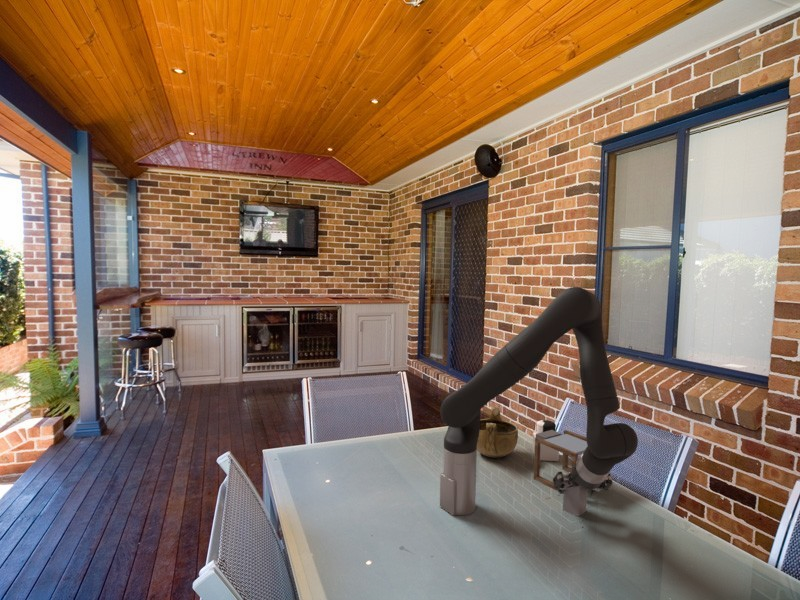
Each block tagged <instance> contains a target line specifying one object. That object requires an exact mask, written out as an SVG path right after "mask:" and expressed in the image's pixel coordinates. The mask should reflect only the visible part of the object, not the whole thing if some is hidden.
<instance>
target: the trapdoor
mask: <svg viewBox="0 0 800 600" xmlns="http://www.w3.org/2000/svg"><path fill="white" fill-rule="evenodd" d="M536 438H540V439H543V440H545V441H548V442H550V443H553V444H555V445H558V446H560V447H563V448H565V449H568V450H570V451H573V452H575V453H578V456H580V455H581V454H582V453H583V452H584V451H585V449H586V448H587V446H588V445H587V441H584V440H581V439H579V438H576V437H573V436H571V435H568V434H564V433H561V432H559V431H554V430H549V431H546V432H542V433H538V434H536Z"/></svg>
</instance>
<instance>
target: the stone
mask: <svg viewBox="0 0 800 600" xmlns="http://www.w3.org/2000/svg"><path fill="white" fill-rule="evenodd" d="M570 473H571V472H570ZM568 474H569V472H567V473H566V474H565V475H568ZM564 485H566V481H565V483H564ZM571 485H573V484H572V483H571ZM587 496H588V489H586V488H583V487H580V488H579V487H577V488H574V489H568V488H567V489H565V491H564V494H563V499H562V500H563V502H562V503H563V505H562V511H564V512H566V513H568V514H571V515H573V516H575V517H580V516H582V515H583V514H584V513H585V512H587V500H588V499H587Z"/></svg>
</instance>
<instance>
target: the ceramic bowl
mask: <svg viewBox="0 0 800 600" xmlns="http://www.w3.org/2000/svg"><path fill="white" fill-rule="evenodd" d="M518 429H519V428H518V426H517V425H516V424H515V423H513V422H510V421H508V420H505V419H504V420H503V419H502V417H501V407H500V406H491V409H490V416H489V418H482V419H481V418H480V430H479V438H478V441H477V452H479V453H480V454H481V455H483V456H485V457H489V458H495V459H496V458H503V457H505V456H507V455H509V454H510V453H512V452H513V451H514V450H515V449H516V446H517V443H518V438H519V430H518Z"/></svg>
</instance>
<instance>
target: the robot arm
mask: <svg viewBox="0 0 800 600" xmlns="http://www.w3.org/2000/svg"><path fill="white" fill-rule="evenodd" d="M602 318H603V317H602V308H601V301H600V300H599V298H598V297H597V296H596V295H595V294H594V293H593V292H592V291H590V290H587V289H585V288H584V287H580V286H573V287H572V286H571V287H568V288H566V289H564V290H563V291H561V292H559V294H558V295H556V297H555V298H554V299H553V300H552V301H551V302H550V303H549V304H548V306H547V307H546V308H545V309H544V310H543V311H542V312H541V314H539V316H538V317H537V318H536V319H534V320H533V321H532V322H531V323H529V325H527V326H526V327H525V328H524V329H523V330H522V331H520V332H518V334H517V335H516V336H514V337H513V338H512V339H511V340H509V341H508V342H507V343H506V344H505V345H504V346H503V347H501V348H500V349H499V350H498V351H497V352H496V353H495V354H494V355H493V356H492V357H491V358H490V359H488V361H487V362H486V363H485V364H484V365H483V366H482V367H481V369H480V370H479V371H478V372H477V373H476V374H475V375H474V376H473V377H472V378H471V379H470V380H469V381H468V382H467V383H465V384H463V386H461V387H460V388H458V389H457V390H455V391H454V392H452V393H450V394H449V395H448V396H446V397H445V398H444V399H443V401H442V402H441V404H440V408H439V409H440V411H439V412H440V413H439V414H440V417H441V420H442V422H443V423H444V424H445V425H447V426H448V427H447V431H446V433H445V435H444V437H443V461H442V462H443V463H442V464H443V465H442V466H443V467H442V468H443V469H442V473H440V476H439V477H440V478H439V507H440V506H441V507H440V508H442V509H443V510H444V509H445V510H444V511H446V512H447V513H448V512H449V514H450V515H451V516H453V515H454V516H466V515H470V514H472V513H474V512H475V510H476V496H477V495H476V493H477V491H476V490H477V484H476V483H477V453H478V451H477V441H478V438H479V430H480V419H481V410H482V408H484V407H485V406H486V405H487V404H488V403H490V402H491V400H493V399H495V398H496V397H498V396H499V395H501V394H503V393H504V392H506V391H508V390H509V389H510V388H511V387H513V386H515V385H516V384H517V383H519V382H520V381H521V380H523V379H524V378H525V377H527V376H528V374H530V373H531V372H532V371H534V369H536V367H537V366H538V365H539V364H540V363H541V361H543V358H544V357H545V355H547V353H548V351H549V349H550V348H551V347H552V346H553V345H554V344H555V343H556V342H557V341H558V340H559V339H560V338H561V337H563V336H564V335H566V334H567V333H568V332H569V331H571V330H572V332H573V333H574V336H575V340H576V344H577V348H578V356H579V376H580V384H581V387H582V388H581V389H582V393H583V397H584V401H585V405H586V434H585V435H586V436H585V437H586V440H587V445H588V446H587V448H586V449H585V451H584V452H583V453H582V454H581V455H578V460H577V461H576V463H575V464H574V466H573V468H572V472H571V473H569V472H568V473H569V474H568V473H567V474H568V475H566V474H563V473H564V472H562V471H557V473H556V474H555V475H554V476H553V478H552V482H553V483H554V488H555V489H557V490H558V491H557V490H556V491H557V492H558V493H559V494H560V495H564V494H563V492H564V491H565V489H567V488H568V489H574V488H577V487H579V488H580V487H583V488H586V489H587V490H589V493H590V496H594V495H595V494H597V493H598V492H600V491H601V490H603V491H608V490H609V489H610V488H611V486H612V485H613V479H612V476H611V472H610V471H611V470H612V469H613V468H614V467H615V466H616V465H618V464H620V463H622V462H624V461H626V460H627V459H629V458H631V457H632V456H633V455H634V453H636V451H637V449H638V444H639V438H638V435H637V433H636V431H635V430H634V428H633V427H632V426H630V425H628V424H627V423H623V422H616V423H609V424H604V423H605V419H606V417H607V416H608V415H610V414H613V413H615V412H618V411H619V409H620V400H619V397H618V392H617V389H616V385H615V382H614V377H613V375H612V374H613V373H612V370H611V367H610V366H611V365H610V363H609V358H608V355H607V354H608V353H607V350H606V345H605V338H604V331H603V322H602V321H603V320H602ZM565 481H566V485H564V483H565ZM571 483H572V484H573V485H571ZM555 489H554V490H555Z"/></svg>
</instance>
